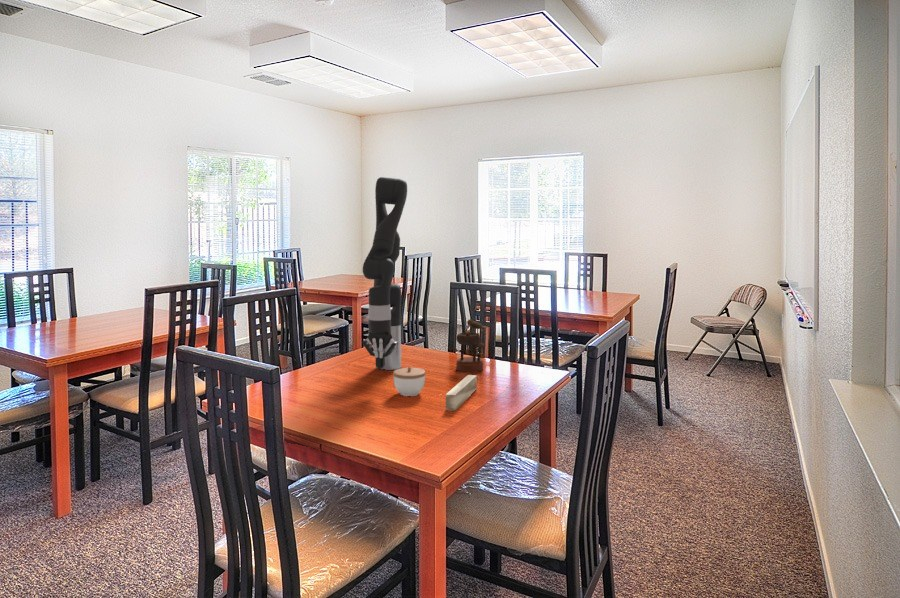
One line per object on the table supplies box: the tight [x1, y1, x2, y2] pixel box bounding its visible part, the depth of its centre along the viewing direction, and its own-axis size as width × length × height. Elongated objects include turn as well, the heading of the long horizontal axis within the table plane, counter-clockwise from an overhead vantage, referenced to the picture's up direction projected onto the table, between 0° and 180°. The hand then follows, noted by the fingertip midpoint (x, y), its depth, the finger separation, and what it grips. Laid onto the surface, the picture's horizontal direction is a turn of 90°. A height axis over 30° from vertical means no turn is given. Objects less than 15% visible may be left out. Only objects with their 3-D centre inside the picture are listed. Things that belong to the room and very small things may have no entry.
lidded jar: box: [392, 365, 426, 397], centre depth 193 cm, size 11×11×9 cm
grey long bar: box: [445, 374, 478, 412], centre depth 188 cm, size 3×24×5 cm, turn 162°
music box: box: [448, 319, 488, 373], centre depth 225 cm, size 15×11×20 cm
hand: (380, 368), depth 196 cm, fingers closed
